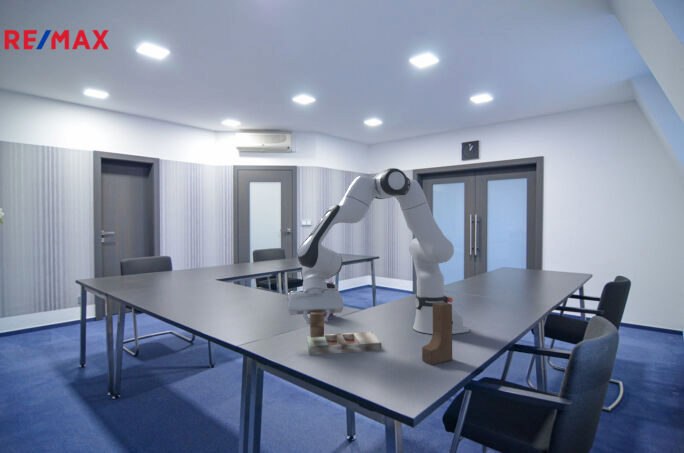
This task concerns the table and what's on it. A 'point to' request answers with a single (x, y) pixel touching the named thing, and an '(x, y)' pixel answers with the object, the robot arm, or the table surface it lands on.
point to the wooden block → (440, 335)
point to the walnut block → (317, 324)
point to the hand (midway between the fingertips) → (317, 323)
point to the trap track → (343, 343)
